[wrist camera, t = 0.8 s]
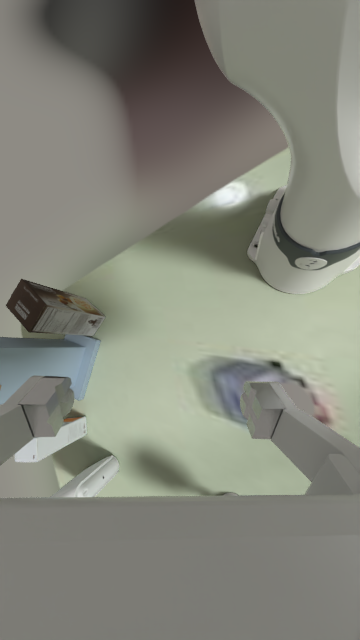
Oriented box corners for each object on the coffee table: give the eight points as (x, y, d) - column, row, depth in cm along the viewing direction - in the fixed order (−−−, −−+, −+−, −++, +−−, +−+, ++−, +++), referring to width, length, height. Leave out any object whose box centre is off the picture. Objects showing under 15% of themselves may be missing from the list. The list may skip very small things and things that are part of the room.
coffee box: (72, 316, 52) (3, 304, 37) (85, 297, 51) (20, 277, 36) (93, 337, 49) (27, 332, 34) (107, 316, 48) (46, 303, 33)
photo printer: (115, 450, 43) (68, 489, 31) (123, 470, 42) (77, 518, 30) (82, 469, 45) (26, 512, 33) (89, 488, 44) (33, 540, 32)
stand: (71, 330, 51) (-84, 315, 27) (100, 340, 48) (-46, 334, 24) (55, 384, 51) (-120, 421, 26) (83, 398, 47) (-86, 455, 23)
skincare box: (86, 415, 47) (37, 437, 35) (87, 434, 46) (37, 463, 34) (67, 417, 48) (13, 438, 37) (68, 435, 47) (13, 463, 36)
